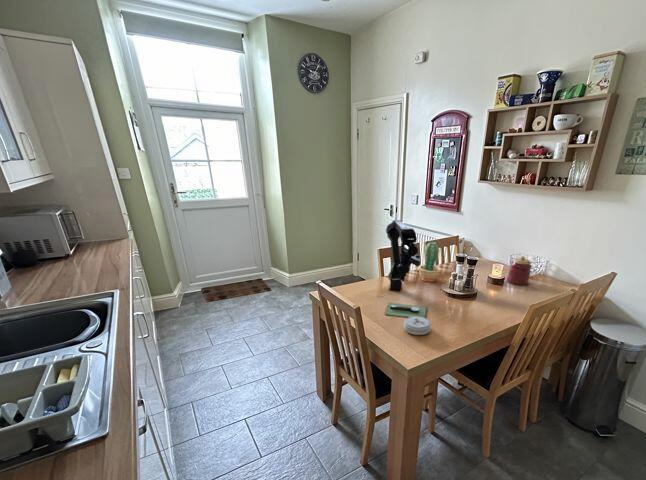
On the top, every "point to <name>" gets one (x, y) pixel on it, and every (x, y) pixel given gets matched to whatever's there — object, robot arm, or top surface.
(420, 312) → the placemat
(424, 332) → the lid
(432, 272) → the potted cactus
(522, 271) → the kitchen canister
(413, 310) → the spoon
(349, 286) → the top surface
